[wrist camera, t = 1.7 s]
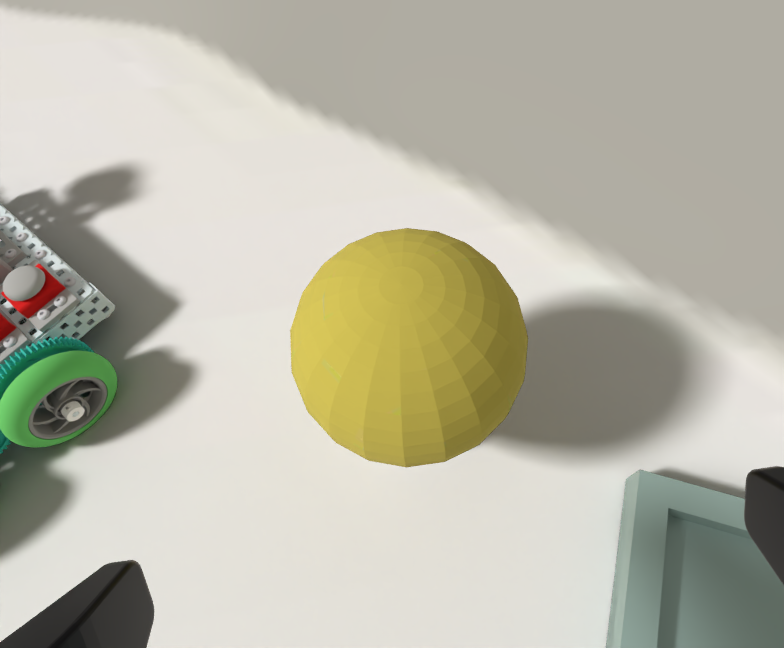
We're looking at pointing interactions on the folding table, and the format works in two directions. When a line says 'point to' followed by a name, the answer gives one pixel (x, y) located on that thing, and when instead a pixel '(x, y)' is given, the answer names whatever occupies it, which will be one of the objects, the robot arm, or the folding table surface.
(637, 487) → the tray
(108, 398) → the robot kit
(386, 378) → the light bulb
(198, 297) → the folding table surface
